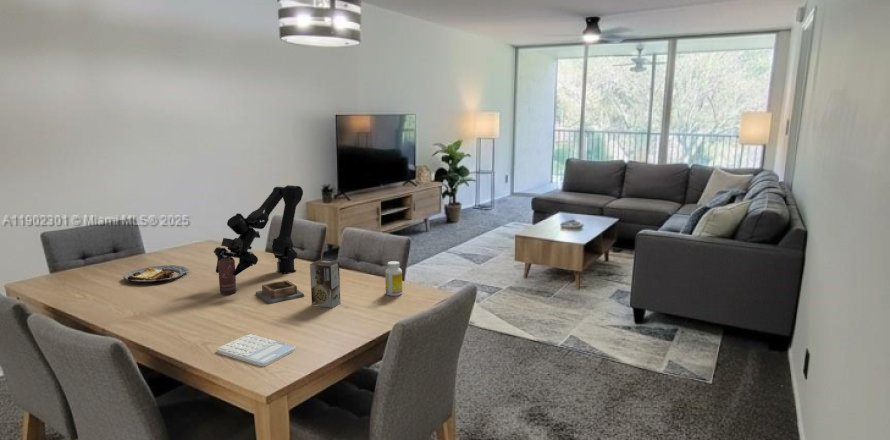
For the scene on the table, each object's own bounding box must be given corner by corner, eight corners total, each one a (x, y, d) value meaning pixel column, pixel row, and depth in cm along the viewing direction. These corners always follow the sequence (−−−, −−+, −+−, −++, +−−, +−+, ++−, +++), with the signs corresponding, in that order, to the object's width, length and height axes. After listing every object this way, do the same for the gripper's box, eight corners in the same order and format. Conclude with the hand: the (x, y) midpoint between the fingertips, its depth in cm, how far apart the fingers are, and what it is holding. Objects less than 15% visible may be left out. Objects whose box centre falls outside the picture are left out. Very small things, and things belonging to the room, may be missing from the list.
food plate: (168, 286, 221) (167, 277, 221) (112, 285, 222) (111, 277, 221) (197, 270, 246) (196, 263, 245) (146, 270, 246) (146, 262, 246)
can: (239, 290, 217) (237, 256, 214) (232, 295, 211) (229, 260, 208) (225, 289, 217) (222, 256, 215) (217, 294, 211) (214, 260, 208)
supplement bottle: (405, 292, 217) (405, 261, 214) (397, 297, 211) (396, 265, 208) (390, 290, 219) (390, 259, 217) (382, 294, 213) (382, 263, 211)
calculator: (250, 338, 172) (249, 332, 172) (297, 351, 163) (297, 345, 163) (215, 353, 161) (214, 347, 160) (264, 368, 151) (263, 362, 151)
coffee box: (341, 302, 204) (340, 261, 201) (332, 308, 198) (331, 266, 195) (320, 300, 207) (318, 259, 204) (310, 305, 201) (309, 263, 198)
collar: (289, 287, 221) (289, 278, 220) (304, 296, 210) (303, 286, 210) (255, 294, 213) (255, 284, 212) (268, 303, 202) (268, 293, 201)
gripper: (215, 227, 217) (194, 260, 209) (251, 232, 209) (230, 266, 202) (231, 242, 225) (212, 274, 218) (266, 247, 218) (247, 281, 210)
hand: (225, 273), depth 211 cm, fingers open, 9 cm apart
